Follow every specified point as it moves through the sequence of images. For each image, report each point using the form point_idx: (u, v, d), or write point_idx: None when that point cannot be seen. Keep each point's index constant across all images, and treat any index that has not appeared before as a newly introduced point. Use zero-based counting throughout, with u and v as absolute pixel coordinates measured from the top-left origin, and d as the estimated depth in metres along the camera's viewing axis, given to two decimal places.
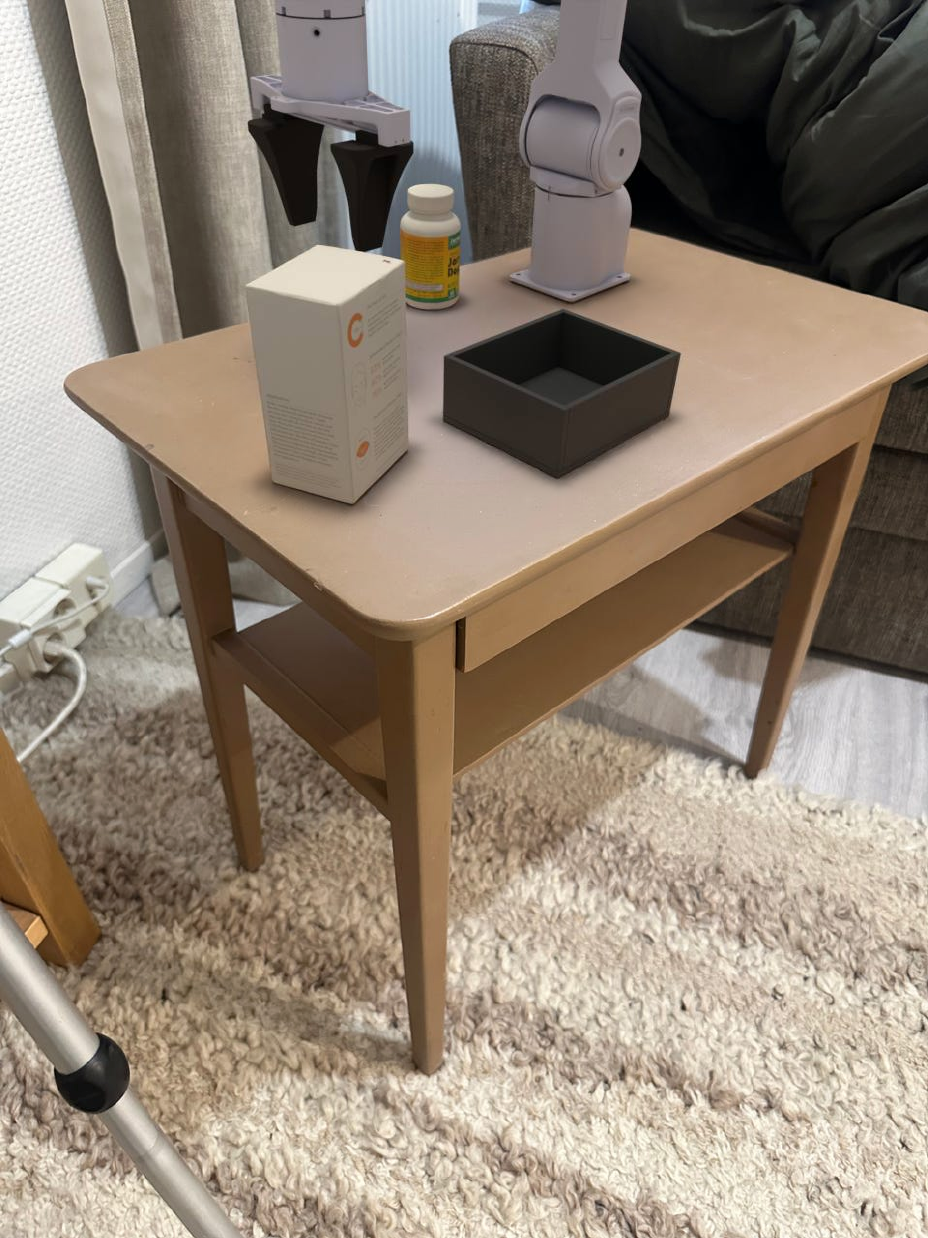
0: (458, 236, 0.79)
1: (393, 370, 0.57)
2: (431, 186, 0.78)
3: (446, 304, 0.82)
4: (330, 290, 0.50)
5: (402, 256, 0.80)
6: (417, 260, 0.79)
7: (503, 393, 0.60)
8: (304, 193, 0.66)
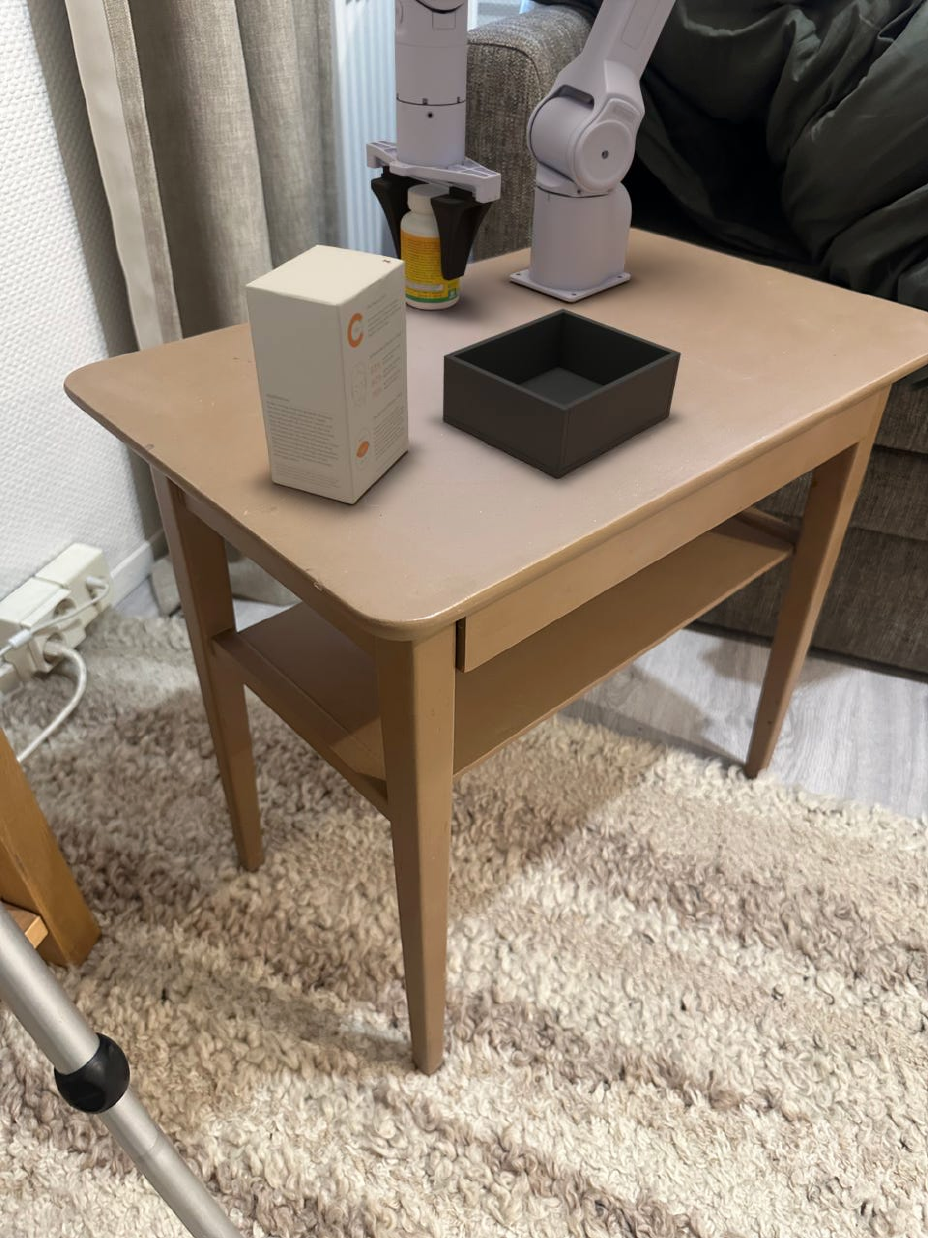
0: None
1: (393, 370, 0.57)
2: (431, 186, 0.78)
3: (446, 304, 0.82)
4: (330, 290, 0.50)
5: (402, 256, 0.80)
6: (418, 260, 0.79)
7: (503, 393, 0.60)
8: None
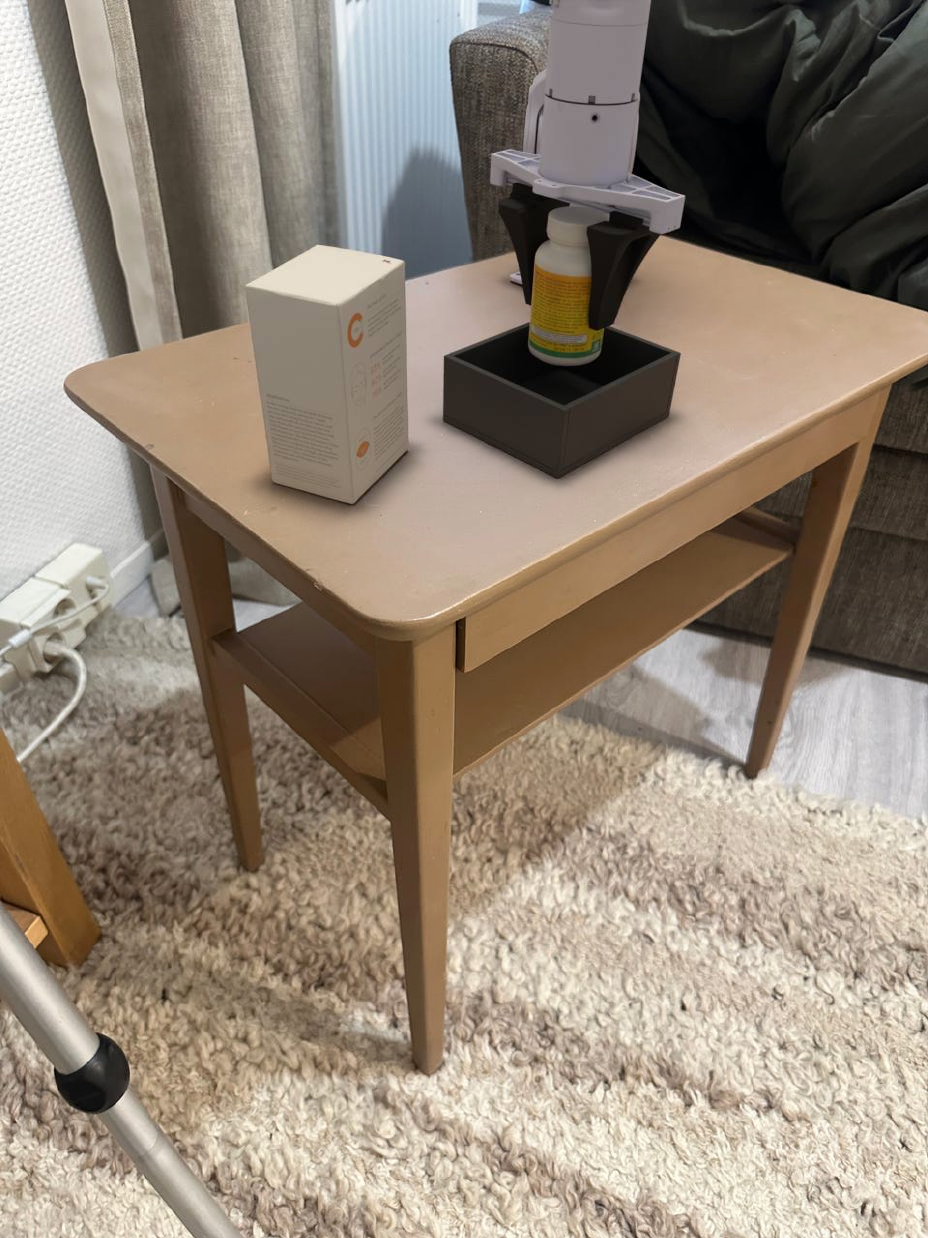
0: None
1: (393, 370, 0.57)
2: (577, 210, 0.60)
3: (588, 360, 0.64)
4: (330, 290, 0.50)
5: (535, 299, 0.62)
6: (558, 305, 0.61)
7: (503, 393, 0.60)
8: None
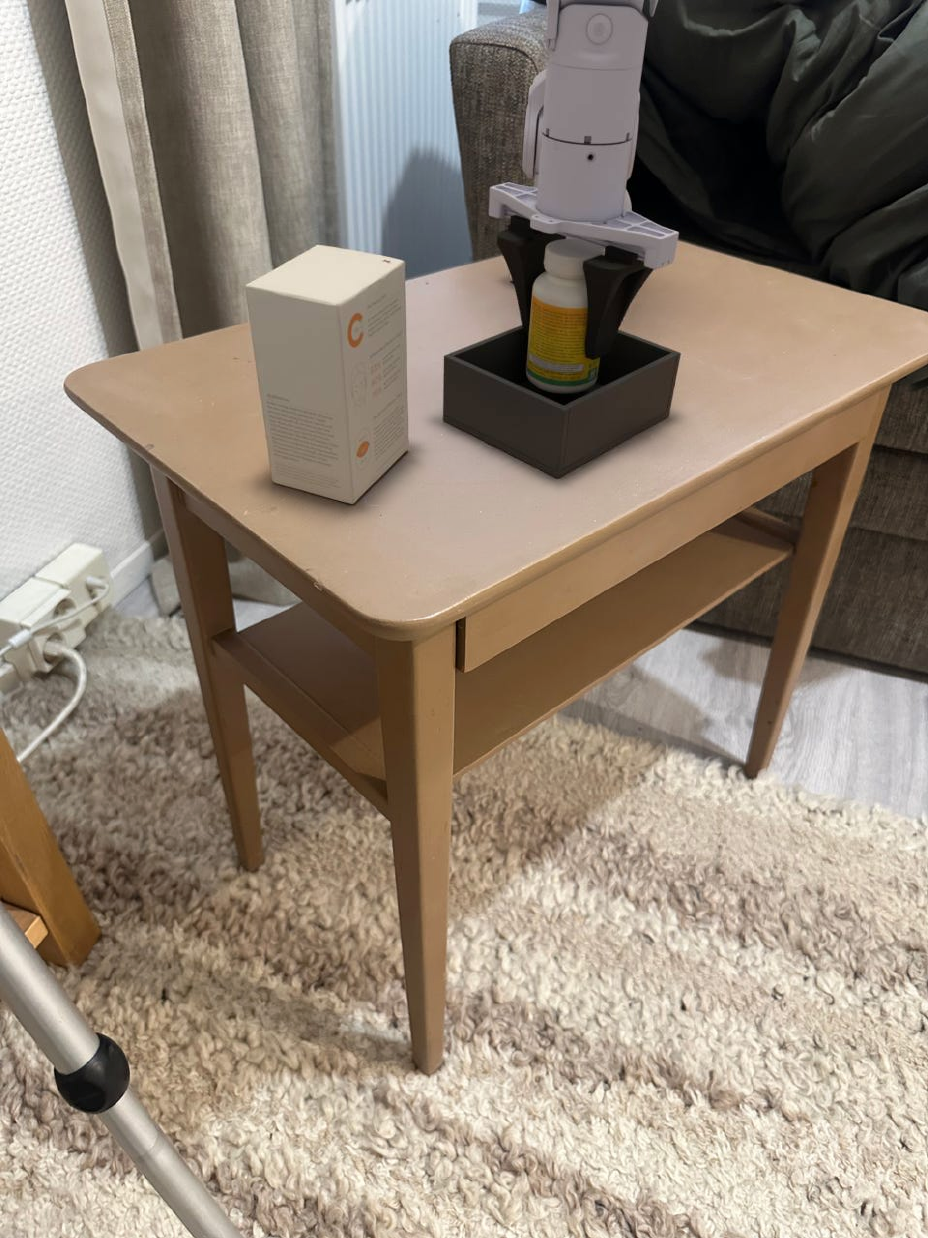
0: None
1: (393, 370, 0.57)
2: (574, 242, 0.62)
3: (584, 387, 0.65)
4: (330, 290, 0.50)
5: (533, 329, 0.64)
6: (555, 335, 0.62)
7: (503, 393, 0.60)
8: None
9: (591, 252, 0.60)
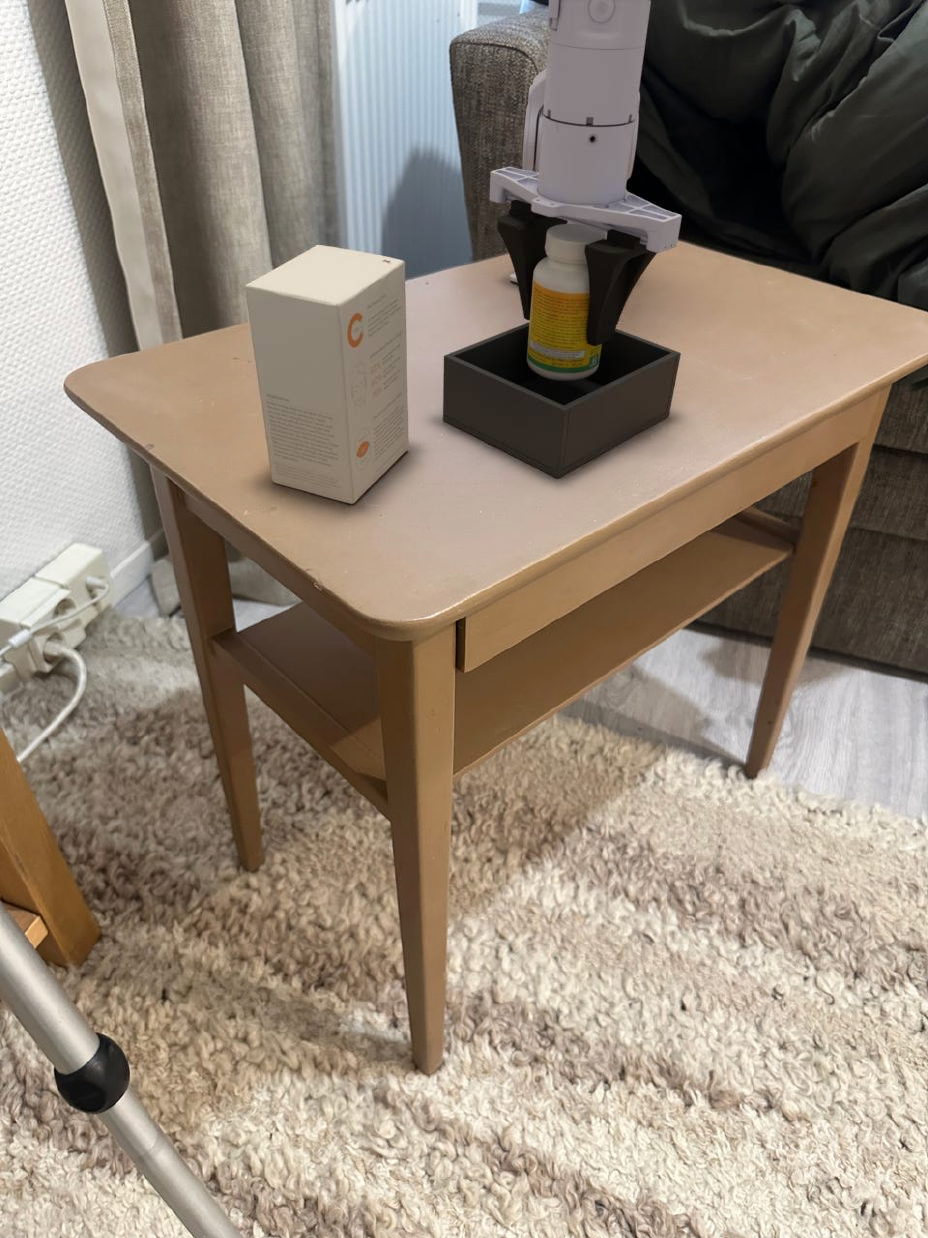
0: None
1: (393, 370, 0.57)
2: (575, 227, 0.61)
3: (586, 374, 0.65)
4: (330, 290, 0.50)
5: (534, 315, 0.63)
6: (556, 321, 0.62)
7: (503, 393, 0.60)
8: None
9: (593, 236, 0.60)
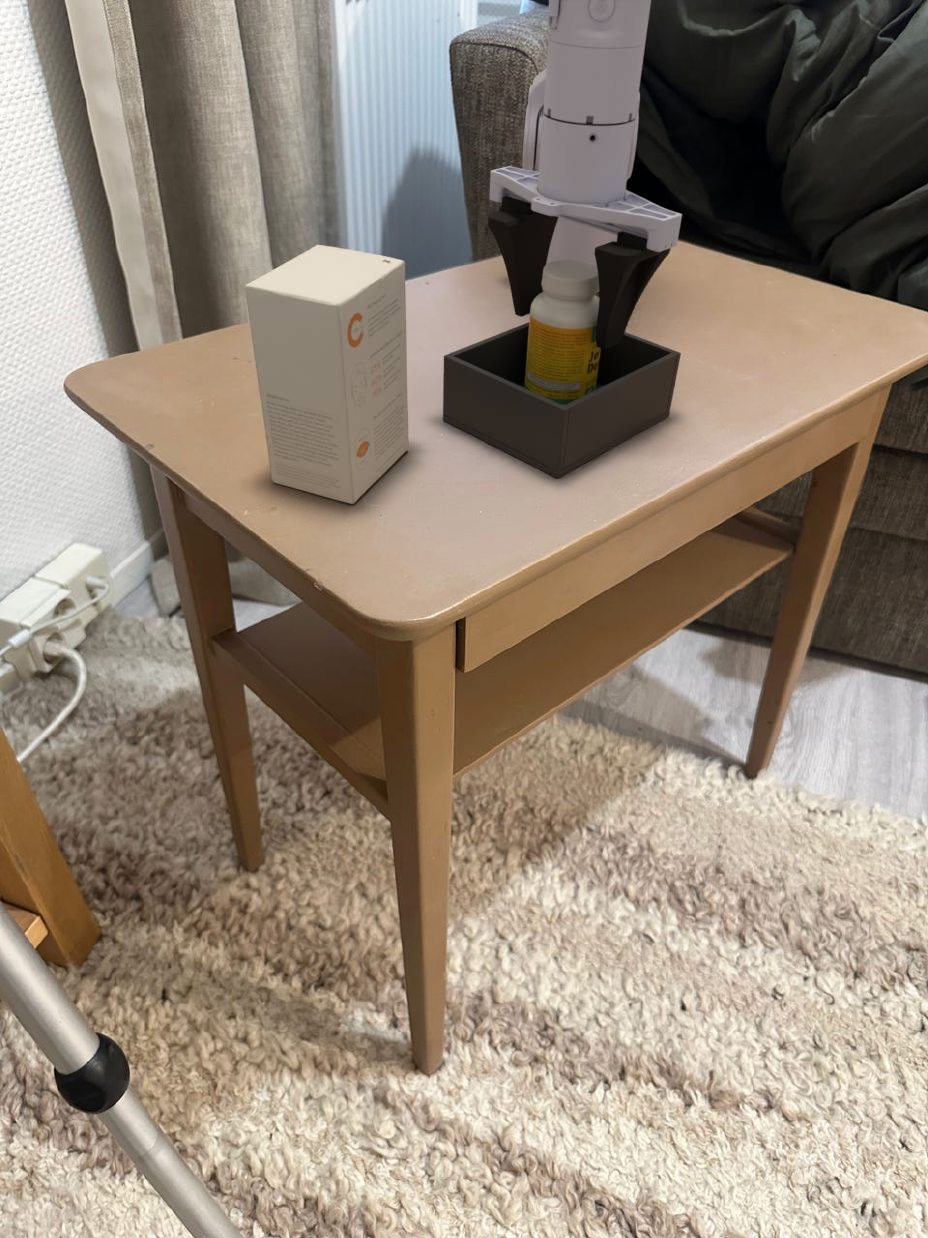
0: None
1: (393, 370, 0.57)
2: (571, 264, 0.63)
3: None
4: (330, 290, 0.50)
5: (531, 348, 0.65)
6: (552, 355, 0.63)
7: (503, 393, 0.60)
8: (533, 284, 0.65)
9: (588, 274, 0.61)
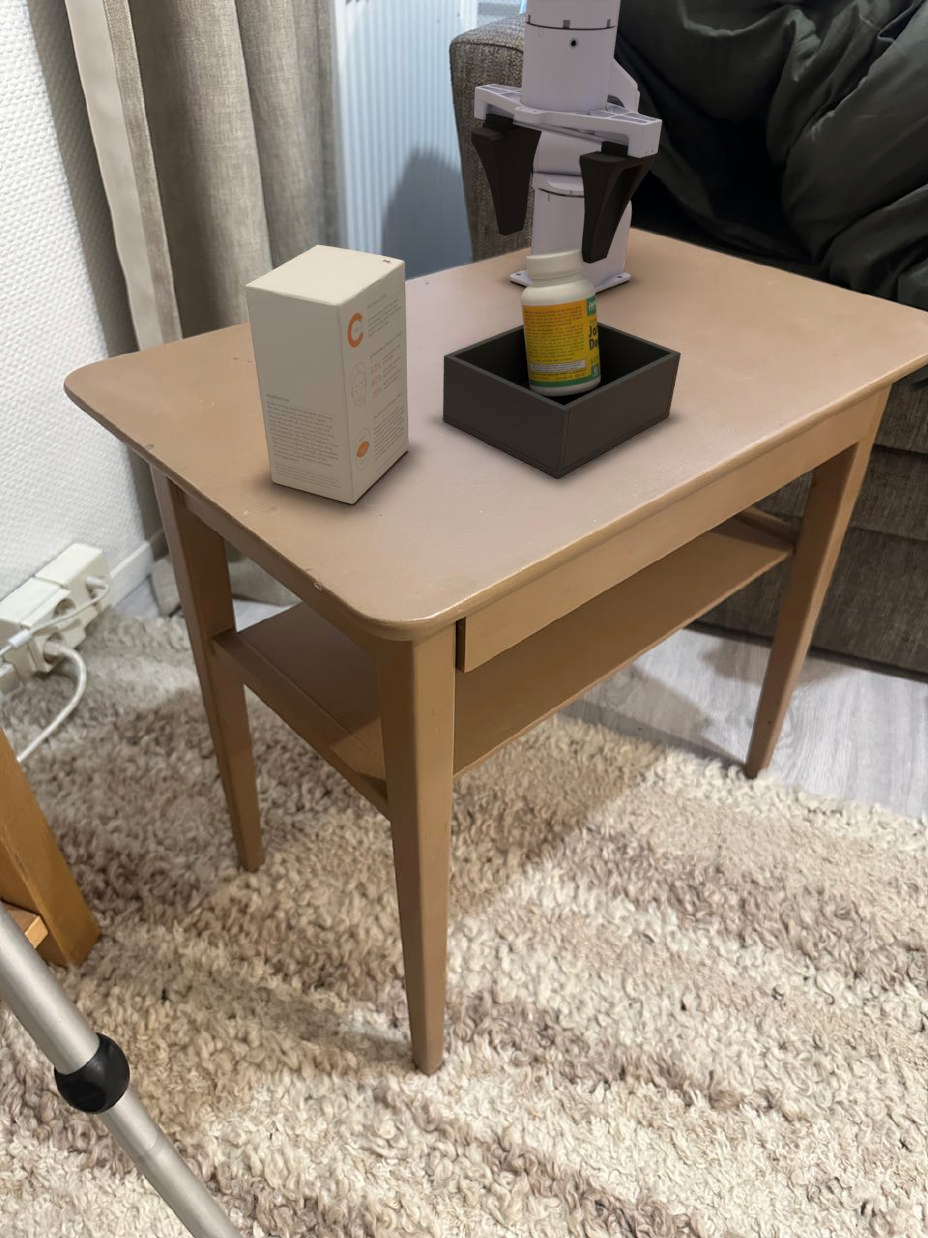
0: (595, 300, 0.64)
1: (393, 370, 0.57)
2: (552, 251, 0.64)
3: (590, 385, 0.66)
4: (330, 290, 0.50)
5: (529, 338, 0.65)
6: (551, 335, 0.63)
7: (503, 393, 0.60)
8: (516, 202, 0.66)
9: (570, 251, 0.63)
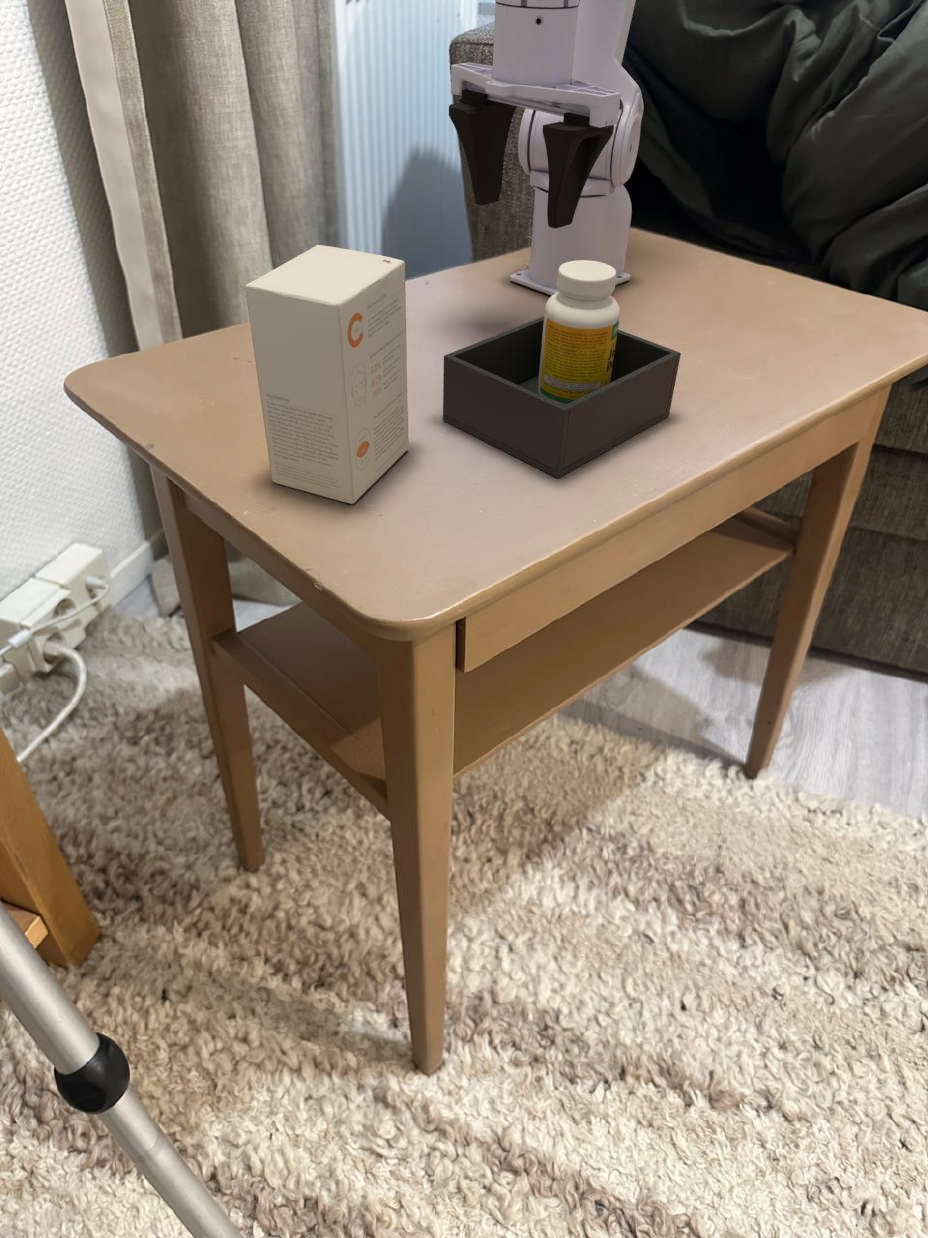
0: (618, 322, 0.64)
1: (393, 370, 0.57)
2: (583, 264, 0.63)
3: None
4: (330, 290, 0.50)
5: (549, 351, 0.64)
6: (574, 356, 0.63)
7: (503, 393, 0.60)
8: (492, 174, 0.71)
9: (605, 273, 0.61)
